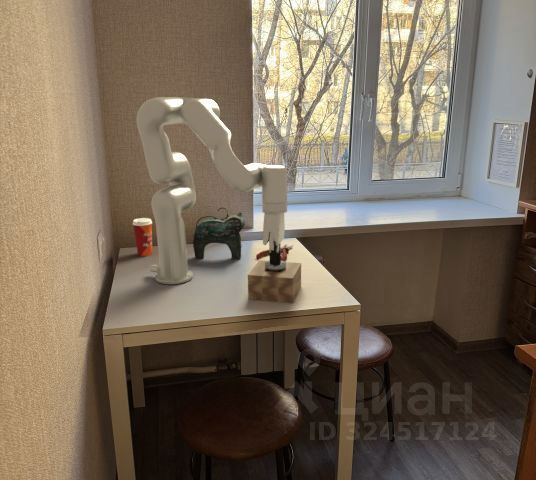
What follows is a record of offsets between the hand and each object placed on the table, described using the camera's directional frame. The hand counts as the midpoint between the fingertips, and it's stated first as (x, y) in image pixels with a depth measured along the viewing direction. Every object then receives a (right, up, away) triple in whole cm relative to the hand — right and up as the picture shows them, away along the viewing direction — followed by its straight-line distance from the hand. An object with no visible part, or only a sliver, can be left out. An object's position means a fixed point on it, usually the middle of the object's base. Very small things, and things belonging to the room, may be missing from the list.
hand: (275, 263), depth 154 cm
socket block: (0, -9, +3) cm, 10 cm away
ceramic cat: (-21, 0, +37) cm, 42 cm away
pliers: (+3, +1, +39) cm, 40 cm away
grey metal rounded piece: (0, -8, +3) cm, 9 cm away
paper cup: (-51, +2, +43) cm, 67 cm away
